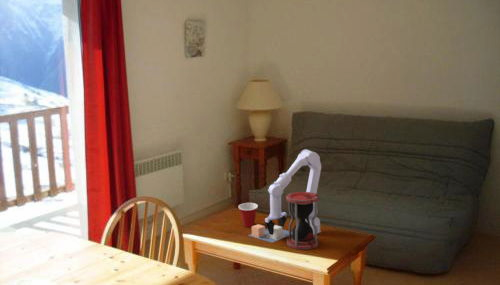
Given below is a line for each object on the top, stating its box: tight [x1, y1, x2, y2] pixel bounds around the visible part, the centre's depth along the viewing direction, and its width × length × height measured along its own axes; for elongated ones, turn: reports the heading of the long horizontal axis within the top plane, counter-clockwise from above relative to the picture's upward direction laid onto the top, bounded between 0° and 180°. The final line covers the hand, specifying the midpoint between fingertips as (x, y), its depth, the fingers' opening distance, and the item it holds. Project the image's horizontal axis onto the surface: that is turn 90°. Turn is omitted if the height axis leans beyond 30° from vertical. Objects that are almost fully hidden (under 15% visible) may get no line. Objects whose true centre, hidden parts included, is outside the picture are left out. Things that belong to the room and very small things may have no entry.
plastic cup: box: [238, 202, 259, 228], centre depth 309 cm, size 11×11×12 cm
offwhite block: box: [269, 224, 284, 239], centre depth 291 cm, size 5×5×5 cm
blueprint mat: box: [247, 227, 292, 243], centre depth 295 cm, size 17×19×1 cm
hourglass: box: [285, 191, 320, 250], centre depth 279 cm, size 16×16×25 cm
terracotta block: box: [251, 224, 266, 239], centre depth 293 cm, size 5×5×5 cm
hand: (276, 232), depth 291 cm, fingers open, 7 cm apart
